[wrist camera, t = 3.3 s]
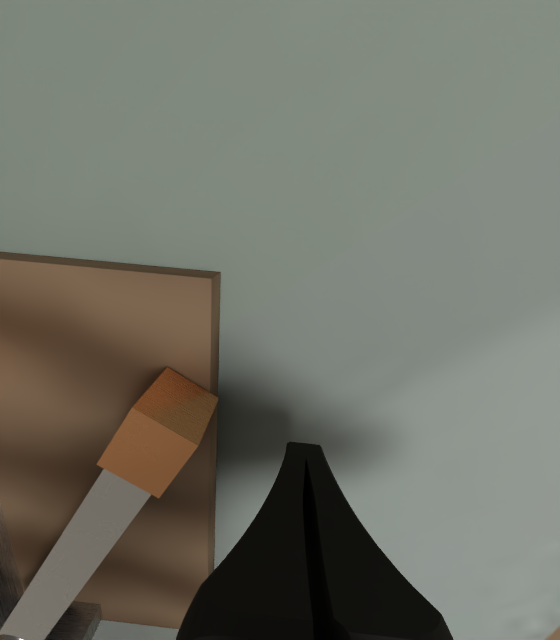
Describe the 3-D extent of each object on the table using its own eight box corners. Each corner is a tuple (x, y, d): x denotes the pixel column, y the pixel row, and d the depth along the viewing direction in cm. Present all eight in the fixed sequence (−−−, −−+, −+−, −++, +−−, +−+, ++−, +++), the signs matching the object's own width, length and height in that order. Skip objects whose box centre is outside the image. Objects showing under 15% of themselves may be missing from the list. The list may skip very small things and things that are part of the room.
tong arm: (67, 604, 19) (26, 673, 16) (27, 585, 18) (-22, 652, 15) (219, 398, 14) (198, 445, 11) (167, 366, 13) (131, 407, 10)
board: (213, 603, 20) (206, 632, 19) (-23, 575, 21) (-46, 601, 19) (220, 272, 13) (211, 278, 12) (-134, 239, 14) (-184, 242, 12)
